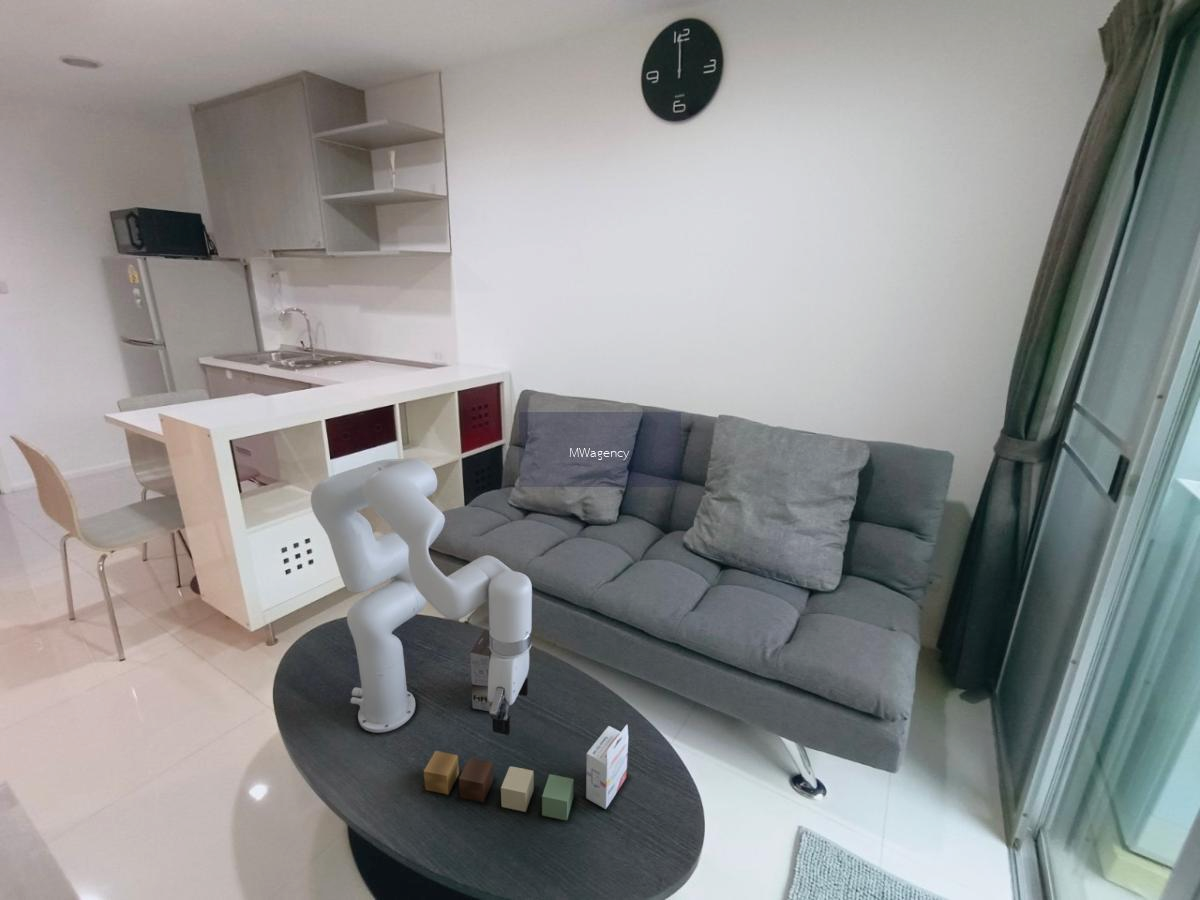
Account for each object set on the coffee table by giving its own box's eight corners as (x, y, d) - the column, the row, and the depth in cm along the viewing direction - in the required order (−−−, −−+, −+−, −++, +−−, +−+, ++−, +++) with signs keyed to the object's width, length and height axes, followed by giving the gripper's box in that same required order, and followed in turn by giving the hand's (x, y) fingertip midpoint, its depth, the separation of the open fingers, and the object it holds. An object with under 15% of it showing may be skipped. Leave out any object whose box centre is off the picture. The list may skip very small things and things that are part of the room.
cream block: (501, 806, 108) (500, 787, 106) (510, 784, 112) (509, 765, 111) (525, 812, 107) (525, 793, 105) (533, 789, 111) (533, 770, 110)
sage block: (541, 815, 106) (541, 796, 105) (549, 792, 111) (549, 773, 109) (567, 820, 105) (567, 801, 104) (573, 797, 110) (573, 778, 108)
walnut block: (460, 797, 109) (458, 778, 108) (470, 775, 114) (469, 757, 112) (483, 802, 108) (482, 783, 107) (493, 780, 113) (492, 762, 111)
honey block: (425, 789, 111) (423, 771, 109) (437, 768, 115) (435, 750, 114) (448, 794, 110) (446, 776, 108) (459, 773, 114) (458, 755, 113)
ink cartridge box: (606, 767, 117) (609, 712, 112) (626, 778, 114) (630, 723, 110) (584, 798, 110) (585, 741, 105) (605, 811, 107) (608, 753, 103)
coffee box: (497, 713, 130) (495, 657, 125) (471, 708, 131) (468, 652, 126) (510, 686, 138) (509, 632, 133) (486, 681, 139) (484, 628, 134)
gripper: (508, 606, 108) (508, 676, 114) (470, 666, 92) (473, 744, 98) (544, 613, 107) (543, 683, 112) (513, 675, 91) (513, 753, 96)
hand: (510, 712), depth 105 cm, fingers open, 9 cm apart
